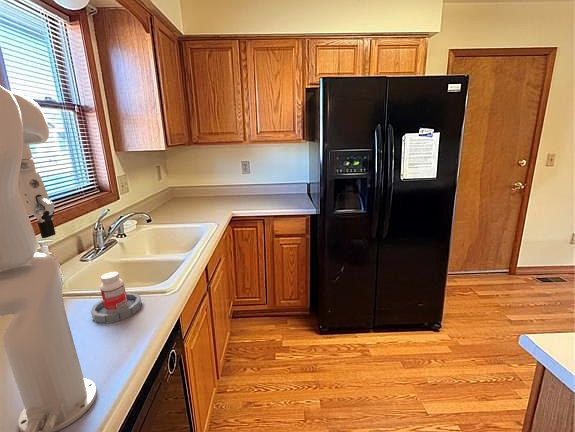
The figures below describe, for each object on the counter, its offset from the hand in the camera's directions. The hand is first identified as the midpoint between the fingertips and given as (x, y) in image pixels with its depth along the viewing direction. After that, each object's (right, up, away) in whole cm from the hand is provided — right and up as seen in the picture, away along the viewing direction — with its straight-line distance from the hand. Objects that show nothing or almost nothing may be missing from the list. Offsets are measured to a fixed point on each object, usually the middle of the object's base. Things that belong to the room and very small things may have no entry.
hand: (34, 236), depth 81 cm
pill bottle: (+13, -23, +16) cm, 31 cm away
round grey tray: (+13, -23, +16) cm, 31 cm away
